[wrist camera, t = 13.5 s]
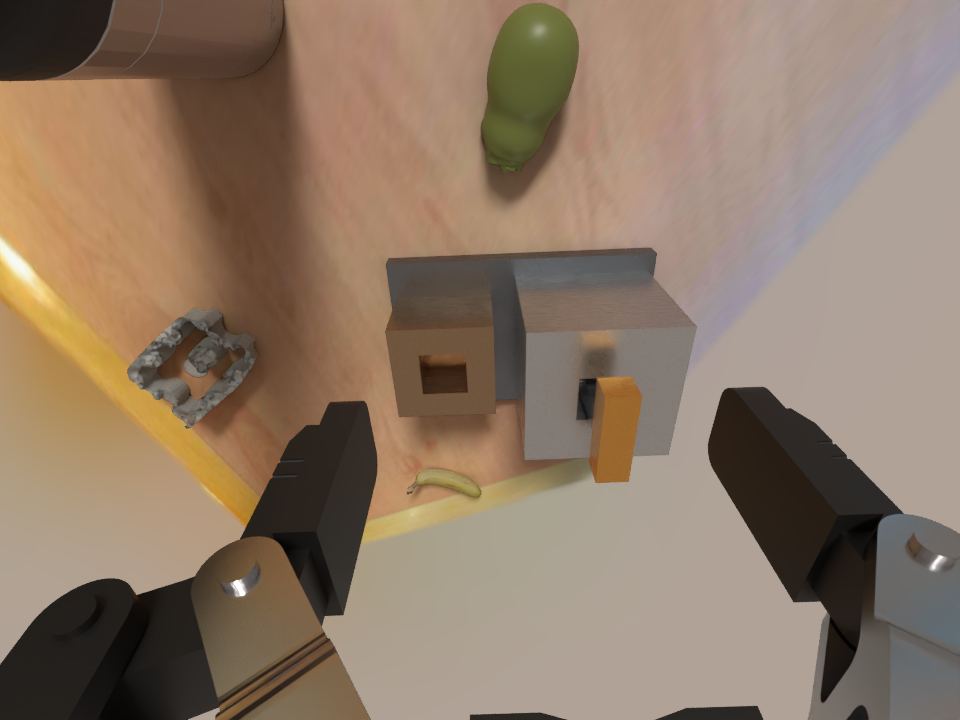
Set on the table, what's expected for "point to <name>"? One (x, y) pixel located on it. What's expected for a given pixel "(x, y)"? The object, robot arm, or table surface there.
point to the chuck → (537, 341)
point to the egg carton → (193, 364)
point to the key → (611, 425)
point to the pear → (527, 82)
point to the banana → (446, 481)
